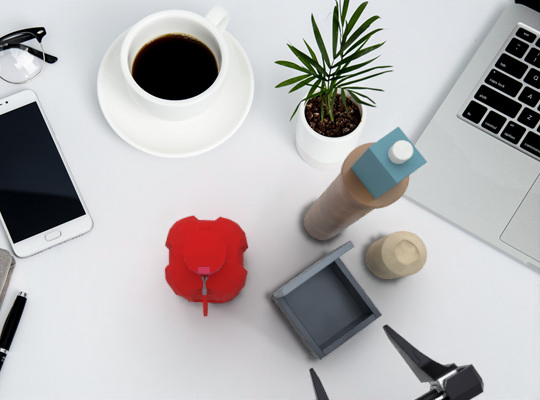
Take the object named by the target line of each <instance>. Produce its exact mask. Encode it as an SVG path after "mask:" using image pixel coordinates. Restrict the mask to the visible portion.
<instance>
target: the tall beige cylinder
mask: <svg viewBox="0 0 540 400" xmlns="http://www.w3.org/2000/svg"><path fill="white" fill-rule="evenodd" d="M376 142H377V141H376ZM376 142H375V141H374V142H367V143H363V144H360V145H358V146H357V147H355V148H354V149H352V150H351V151H350V152H349V153H348V155H347V156H346V157H345V159H344V160H343V162H342V164H341V168H340V172H339V174H338V175H337V176H336V177H335V178H334V180H332V182H331V183H329V185H328V186H327V188H326V189H325V190H324V191H323V192H322V194H321V195H320V196H319V197H318V198H317V199H316V200H315V201H314V203H313V204H312V205H311V207H310V208H308V210H307V211H306V213H305V215H304V217H303V227H304V229H305V231H306V233H307V234H308V236H310V237H312V238H313V239H315V240H317V241H328V240H331V239H332V238H334V237H335V236H337V235H339V234H340V233H341V232H343V231H344V230H346V229H348V228H349V227H350V226H352V225H354V224H355V223H356V222H358V221H359V220H360V219H362V218H364V217H365V216H366V215H368V214H370V213H371V212H373V211H374V210H376V209H384V208H387V207H389V206H391V205H393V204H394V203H396V202H398V201H399V200H400V199H401V198H402V197H403V196H404V194H405V193H406V192H407V189H408V188H409V187H408V186H409V183H410V175H409V176H407V177H406V178H405V179H403V180H402V181H401V182H399V183H398V184H396V185H395V186H394V187H392V188H391V189H389V190H388V191H387V192H385V193H384V194H382V195H381V196H379V197H378V198H377V199H374V197H373V196H372V195H371V194H370V192H369V191H368V190H367V188H366V187H365V186H364V185H363V183H362V182H361V181H360V179H359V178H358V177H357V176H356V174H355V173H354V172H353V170H352V169H351V167H352V166H353V164H354V163H355V162H356V161H357V160H358V159H359V158H360V157H361V156H362V154H363V153H364V152H365V151H366V150H367V149H368V148H369V147H370V146H371V145H373V144H374V143H376Z"/></svg>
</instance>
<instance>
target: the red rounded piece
mask: <svg viewBox="0 0 540 400" xmlns="http://www.w3.org/2000/svg"><path fill="white" fill-rule="evenodd" d="M164 246H165V248H166V249H167V250H168V264H167V265H166V266H165V268H164V279H165V281H166V283H167V285H168V286H169V288H170V289H171V290H172V291H173V293H174V294H175V295H176V296H178V297H182V298H183V299H185V301H188V302H190V303H192V302H193V303H202V313H203V314H202V315H203V317H205V318H207V317H208V313H209V304H226V303H228V302H231V301H232V300H234V299H235V298H236V297H237V296H238V295H239V294H240V292H241V291H242V290H243V288H245V285H246V281H247V277H248V273H249V271H248V269H246V268H245V266H244V253H245V252H246V251H247V250H248V249H249V245H248V240H247V234H246V232H245V231H244V229H243V228H242V227H241V226H240V224H239V223H237V222H236V221H234V220H232V219H230V218H227V217H223V216H219V217H218V218H216V219H199V218H198V217H196V216H195V215H188V216H186V217H183V218H180V219H178V220H176V221H175V222H174V223H173V224H172V225H171V227H170V228H169V230H168V232H167V235H166V240H165V244H164Z"/></svg>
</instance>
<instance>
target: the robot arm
mask: <svg viewBox="0 0 540 400" xmlns="http://www.w3.org/2000/svg"><path fill="white" fill-rule="evenodd" d="M382 329H383V331H384V334H385V335H386V336H387V338H388V340H389V341H390V343H391V344H392V346H393V347H394V348H395V350H396V351H397V352H398V353H399V355H400V356H401V358H402V359H403V360H404V362H405V363H406V364H407V366H408V367H409V369H410V370H411V371H412V373H413V374H414V375H415V377H416V379H418V381H419V382H420V383H421V384H422V383H428V384H429V385H430V386H429V390H427V392H425V393H423V394H421V395H420V396H418V397H416V398H415V399H414V400H472V399H474V398H476V397H478V396H479V395H481V394H482V393H484V389H485V388H484V387H485V384H484V383H485V382H484V380H483V377H482V376H481V375H480V373H479V372H478V371H477V369H476V368H475V366H474V364H473V363H470V364H464V365H457V364H456V363H455V362H451V363H446V364H442V363H440V362H438V361H436V360H434V359H432V358H431V357H429V356H427V355H426V354H424V353H423V352H422V351H420V350H419V349H418V348H417V347H415V346H414V345H413V344H411V343H410V342H409V341H408V340H406V339H405V338H404V337H403V336H402V335H400V334H399V333H398V332H397V331H396V330H394V329H393V328H392V327H391V326H389V324H384V325H383V326H382ZM308 373H309V376H310V380H311V384H312V389H313V392H314V396H315V400H330V398H329V396H328V394H327V392H326V391H327V390H326V389H325V387H324V385H323V382H322V380H321V379H320V377H319V376H318V374H317V372H316V371H315V369H314V368H313V367H310V368H309V369H308Z"/></svg>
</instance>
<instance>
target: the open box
mask: <svg viewBox="0 0 540 400" xmlns="http://www.w3.org/2000/svg"><path fill="white" fill-rule="evenodd" d="M270 298H271V300H272V301H273V302H274V304H275V306H277V308H278V309H279V311H280V312H281V314H282V315H283V316H284V317H285V319H286V321H287V322H288V323H289V324H290V326H291V327H292V329H293V330H294V332H295V333H296V334H297V336H298V337H299V338H300V340H301V341H302V343H303V344H304V345H305V347H306V348H307V350H308V351H309V353H310V354H311V356H313V357H314V358H316V359H318V360H323V359H324V358H325V357H327V356H328V355H330V354H331V353H332V352H333V351H335V350H336V349H338V348H339V347H340V346H342V345H343V344H344V343H347V341H349V340H350V339H352V338H353V337H355V336H356V335H357V334H358V333H360V332H361V331H363V330H364V329H365V328H367V327H368V326H369V325H371V324H373V323H374V322H375V321H376V320H377V319H379V318H381V317H382V316H383V314H382V313H381V311H380V310H379V309H378V307H377V306H376V304H375V303H374V301H372V299H371V297H369V295H368V293H366V291H365V290H364V288H363V287H362V286H361V284H360V283H359V282H358V280H357V279H356V278H355V276H354V275H353V274H352V272H351V271H350V269H348V267H347V265H345V264H344V262H343V260H342V259H341V257H339V258H338V259H336V260H335V261H333V262H332V263H331V264H329V265H328V266H326V267H325V268H324V269H322V270H321V271H319V272H318V273H317V274H315V275H314V276H312V277H311V278H310V279H308V280H307V281H305V282H304V283H303V284H301V285H300V286H298V287H297V288H296V289H294V290H293V291H291V292H290V293H289V294H287V295H286V296H283V297H279V298H276V297H275V295H274V294H272V295H271V297H270Z"/></svg>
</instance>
